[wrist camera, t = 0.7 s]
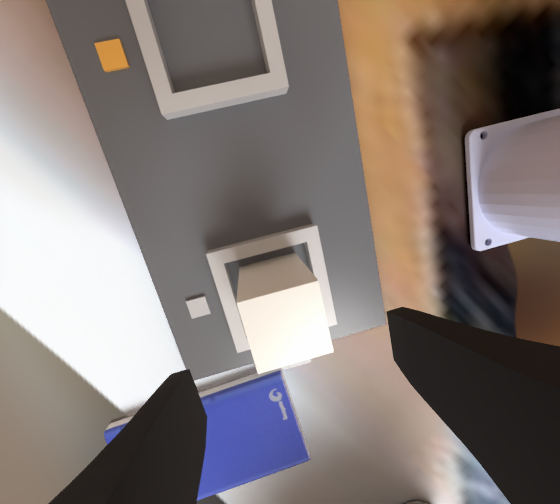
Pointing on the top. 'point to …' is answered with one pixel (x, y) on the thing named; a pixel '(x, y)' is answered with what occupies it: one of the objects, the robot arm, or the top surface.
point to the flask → (416, 502)
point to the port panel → (229, 154)
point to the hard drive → (244, 432)
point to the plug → (282, 313)
